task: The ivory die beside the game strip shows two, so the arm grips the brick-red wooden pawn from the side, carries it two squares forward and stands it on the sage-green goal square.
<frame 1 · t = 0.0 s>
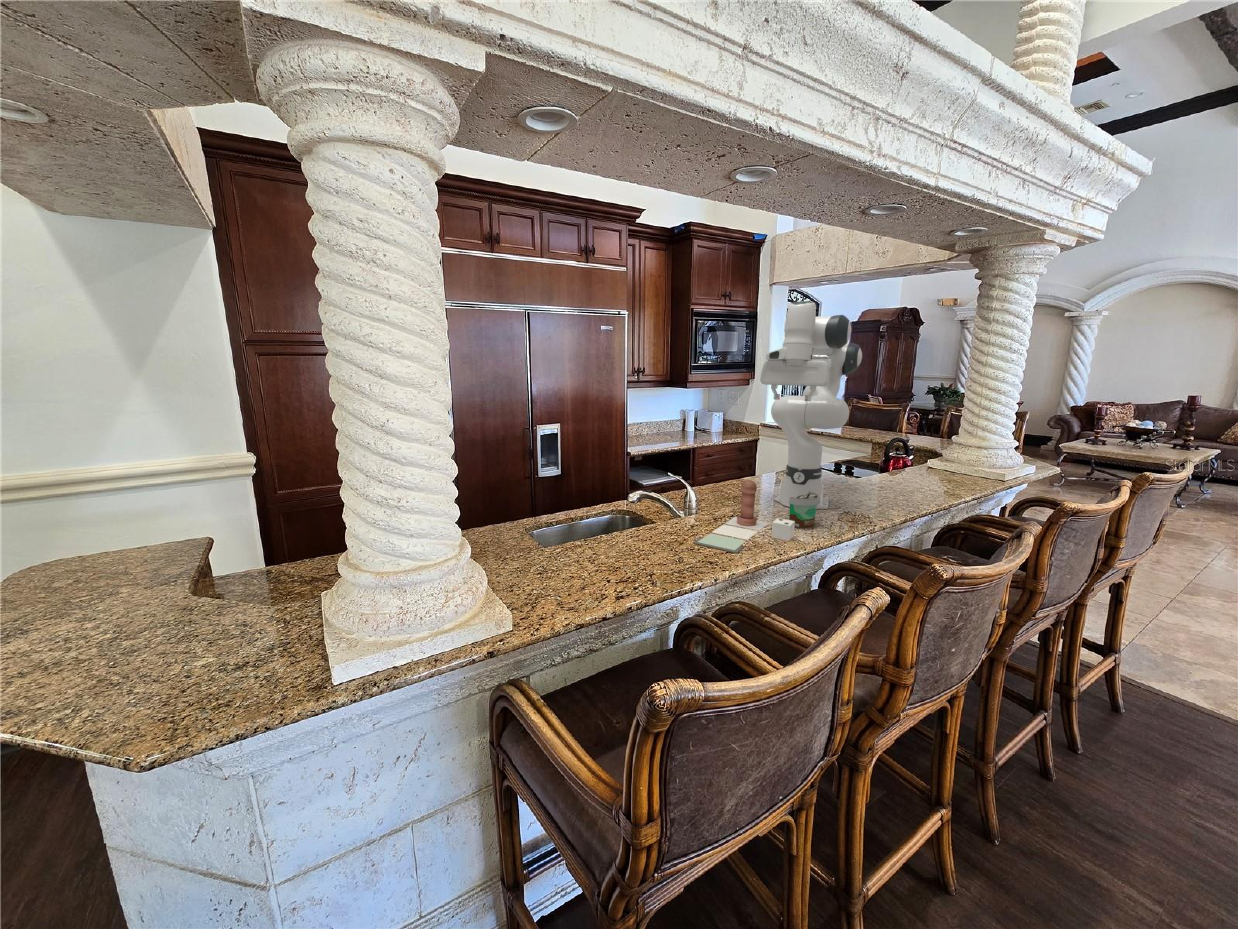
hand: (791, 400, 154), 39 cm above the countertop, tool pointing down, fingers open, 8 cm apart
food container: (805, 527, 156), on the countertop
die: (782, 538, 145), on the countertop
game board: (734, 533, 149), on the countertop
pawn: (746, 523, 157), resting on game board
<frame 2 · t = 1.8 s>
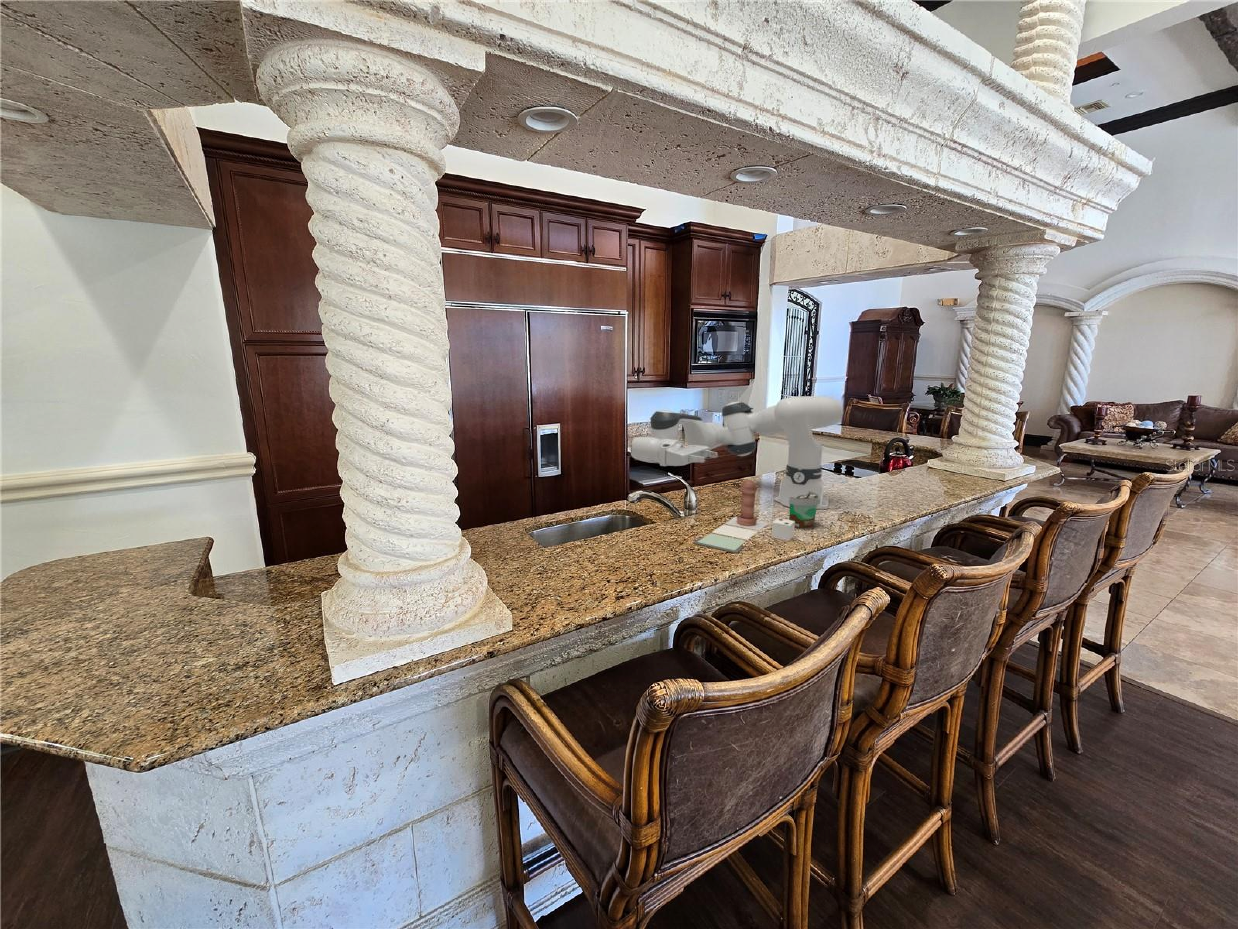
hand: (710, 457, 160), 20 cm above the countertop, tool horizontal, fingers open, 8 cm apart
nothing on the countertop moved.
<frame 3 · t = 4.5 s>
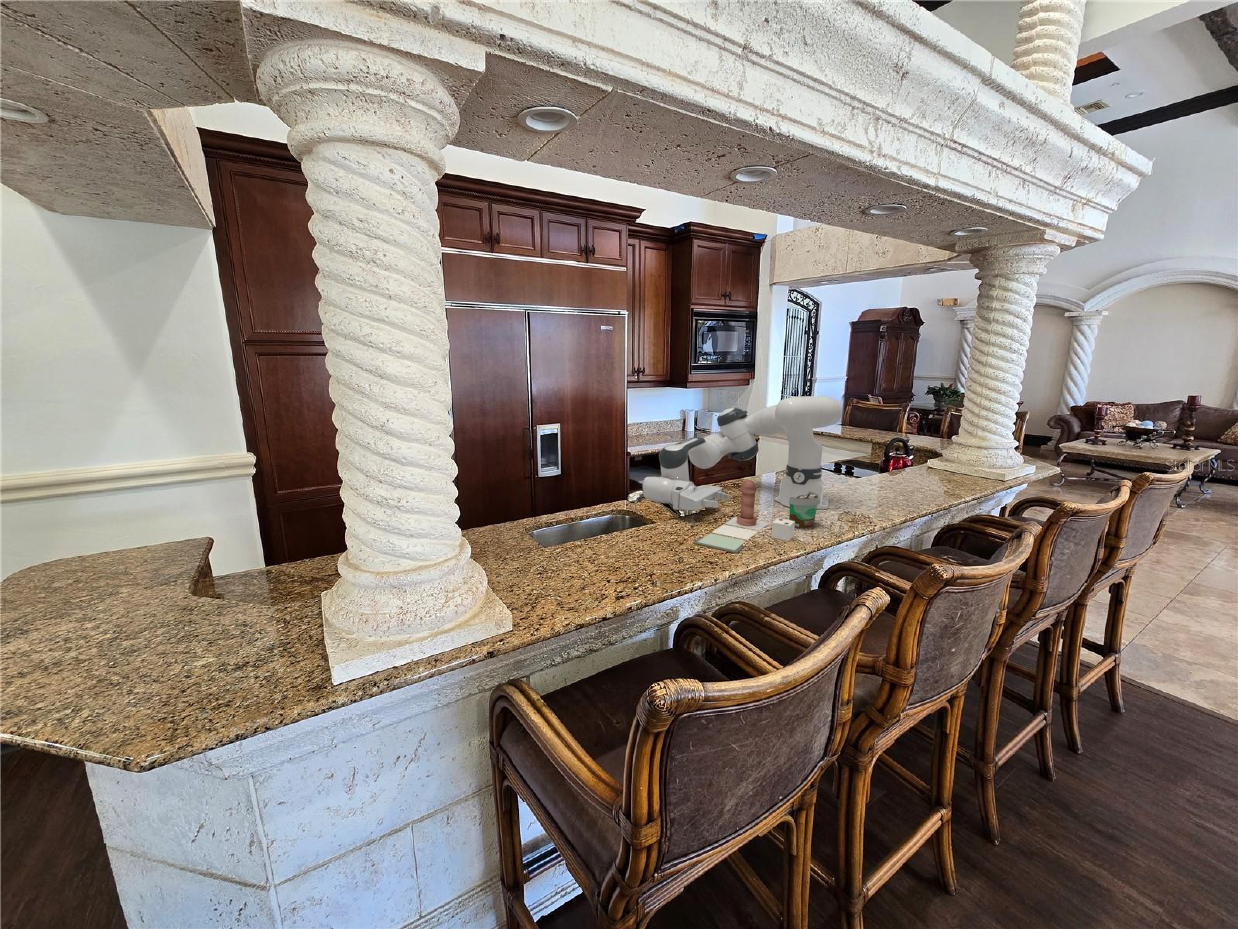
hand: (724, 501, 160), 6 cm above the countertop, tool horizontal, fingers open, 8 cm apart
nothing on the countertop moved.
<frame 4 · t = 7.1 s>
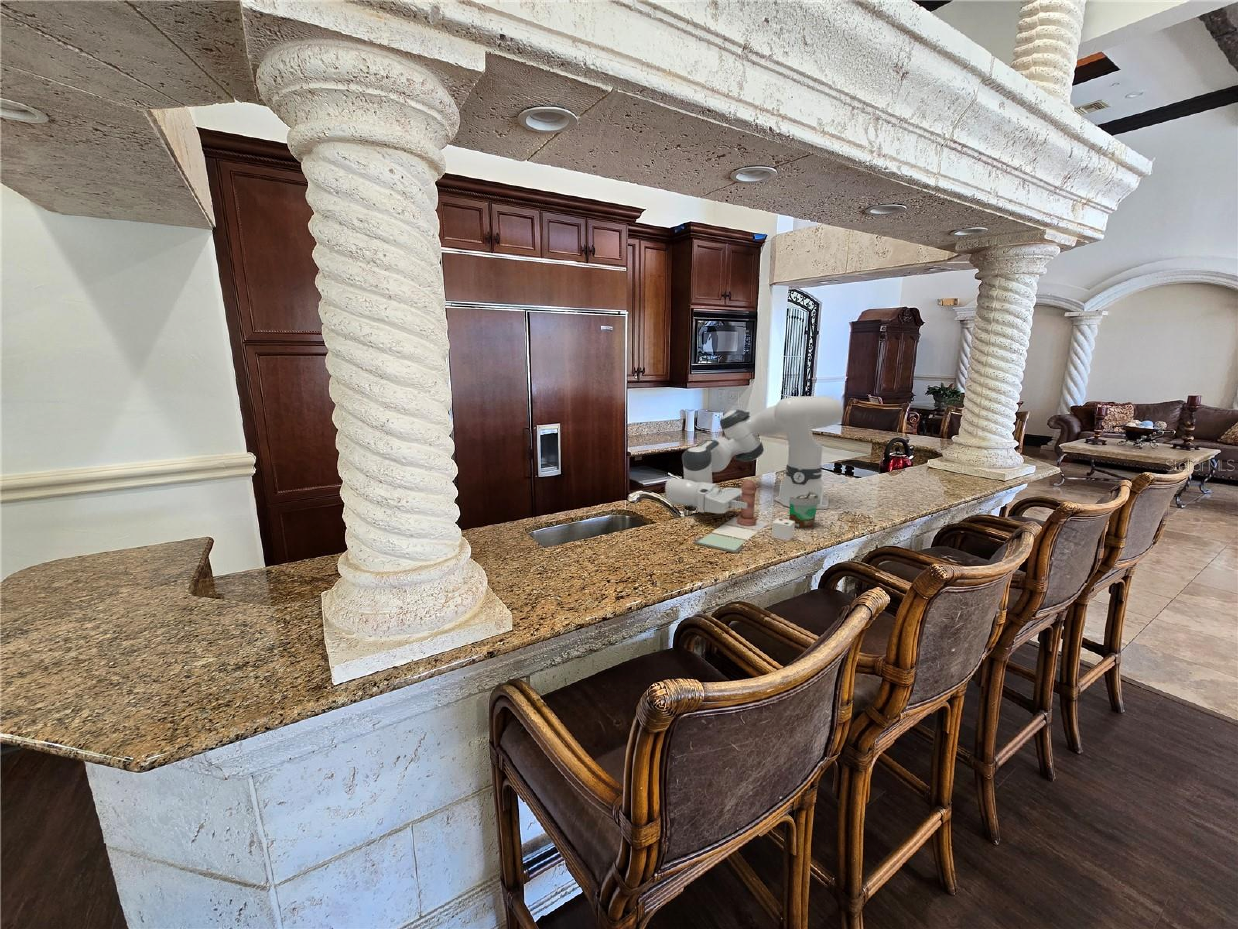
hand: (750, 503, 155), 7 cm above the countertop, tool horizontal, fingers closed on pawn, 4 cm apart
pawn: (746, 523, 157), resting on game board, touching gripper
everything else where it was.
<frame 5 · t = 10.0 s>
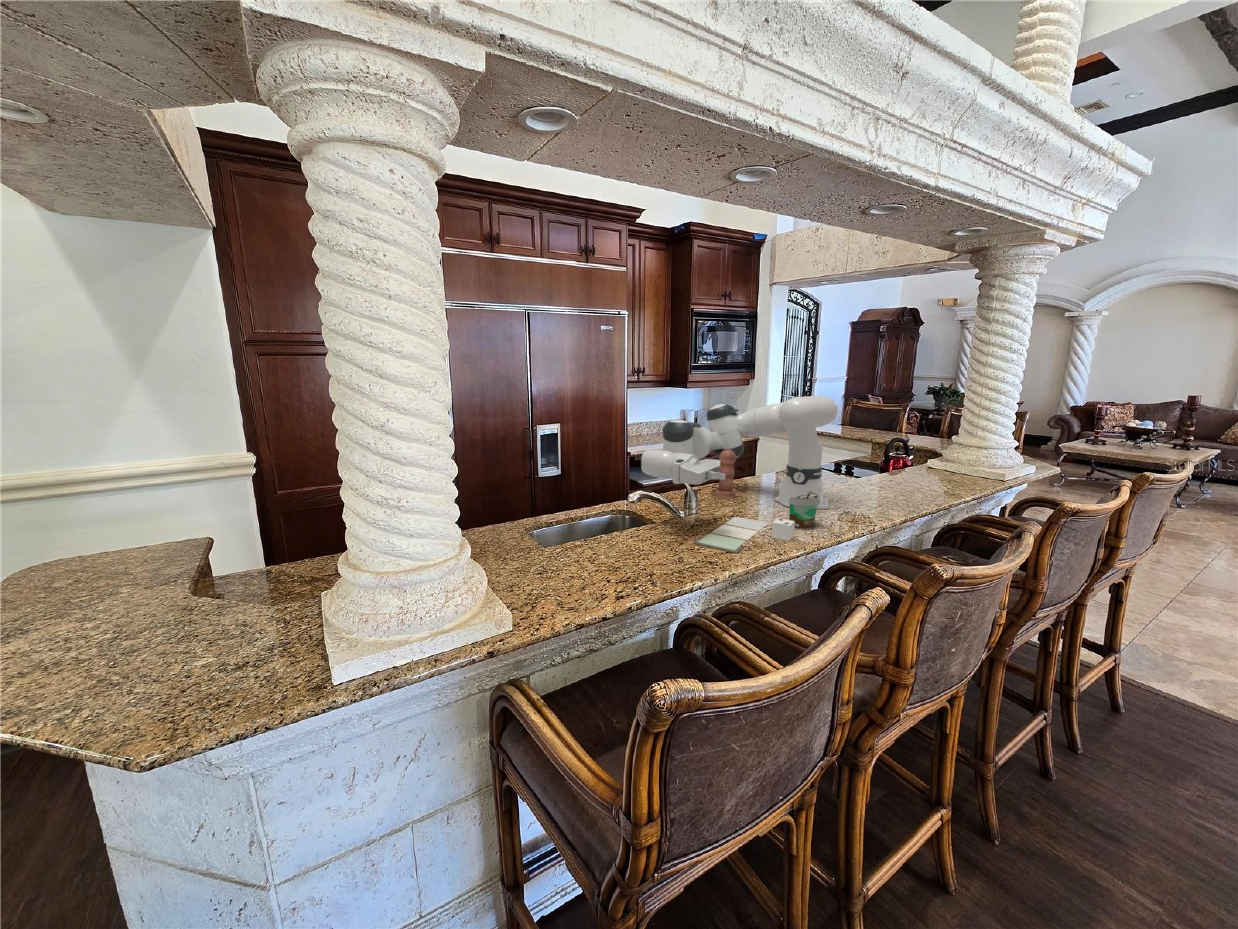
hand: (729, 474, 145), 18 cm above the countertop, tool horizontal, fingers closed on pawn, 4 cm apart
pawn: (725, 496, 147), point 11 cm above the countertop, touching gripper
everything else where it was.
when the fingers open (8 cm above the countertop, at t = 13.0 s): pawn drops 1 cm, resting on game board.
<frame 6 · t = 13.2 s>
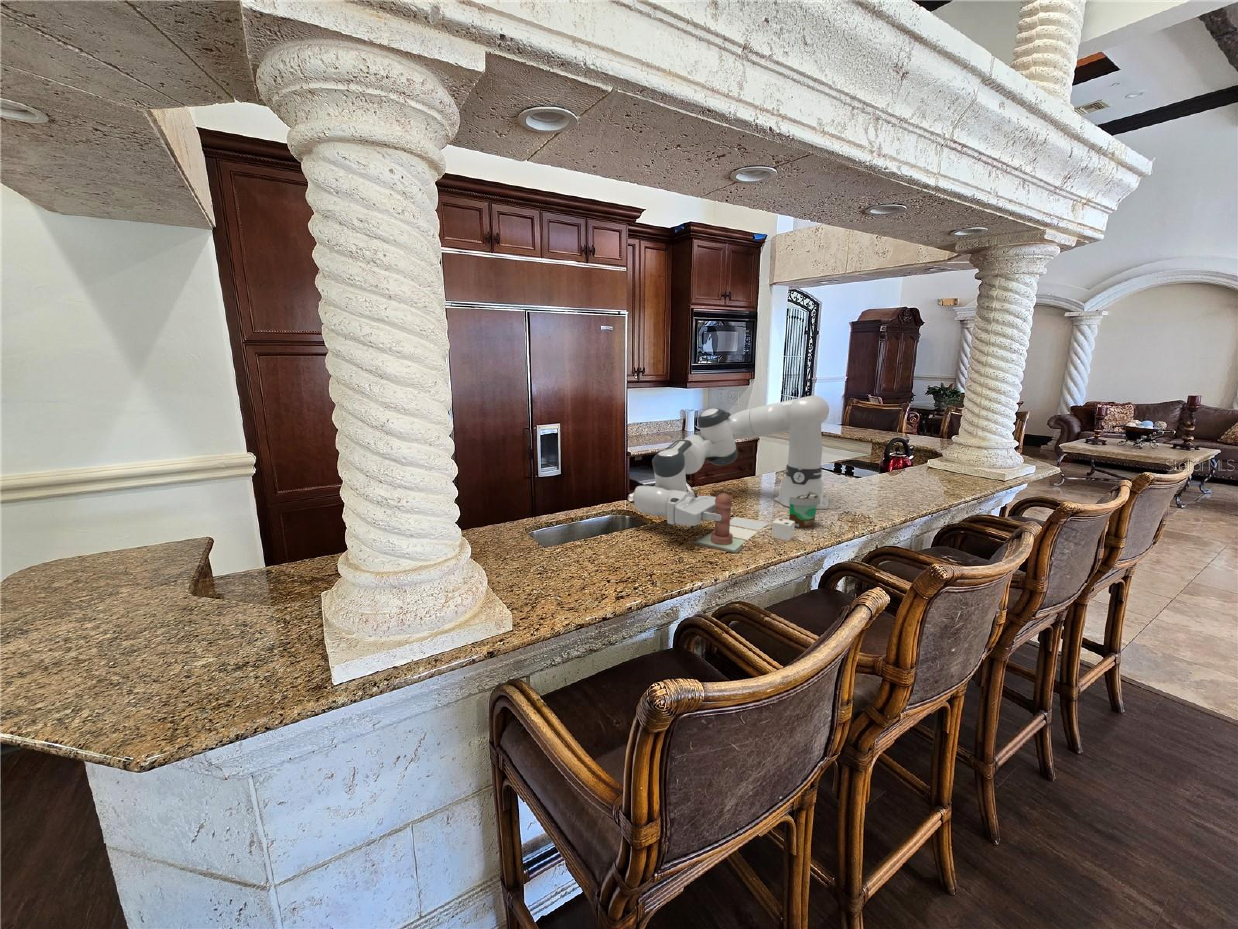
hand: (726, 514, 139), 8 cm above the countertop, tool horizontal, fingers open, 5 cm apart
pawn: (721, 541, 141), resting on game board
everything else where it was.
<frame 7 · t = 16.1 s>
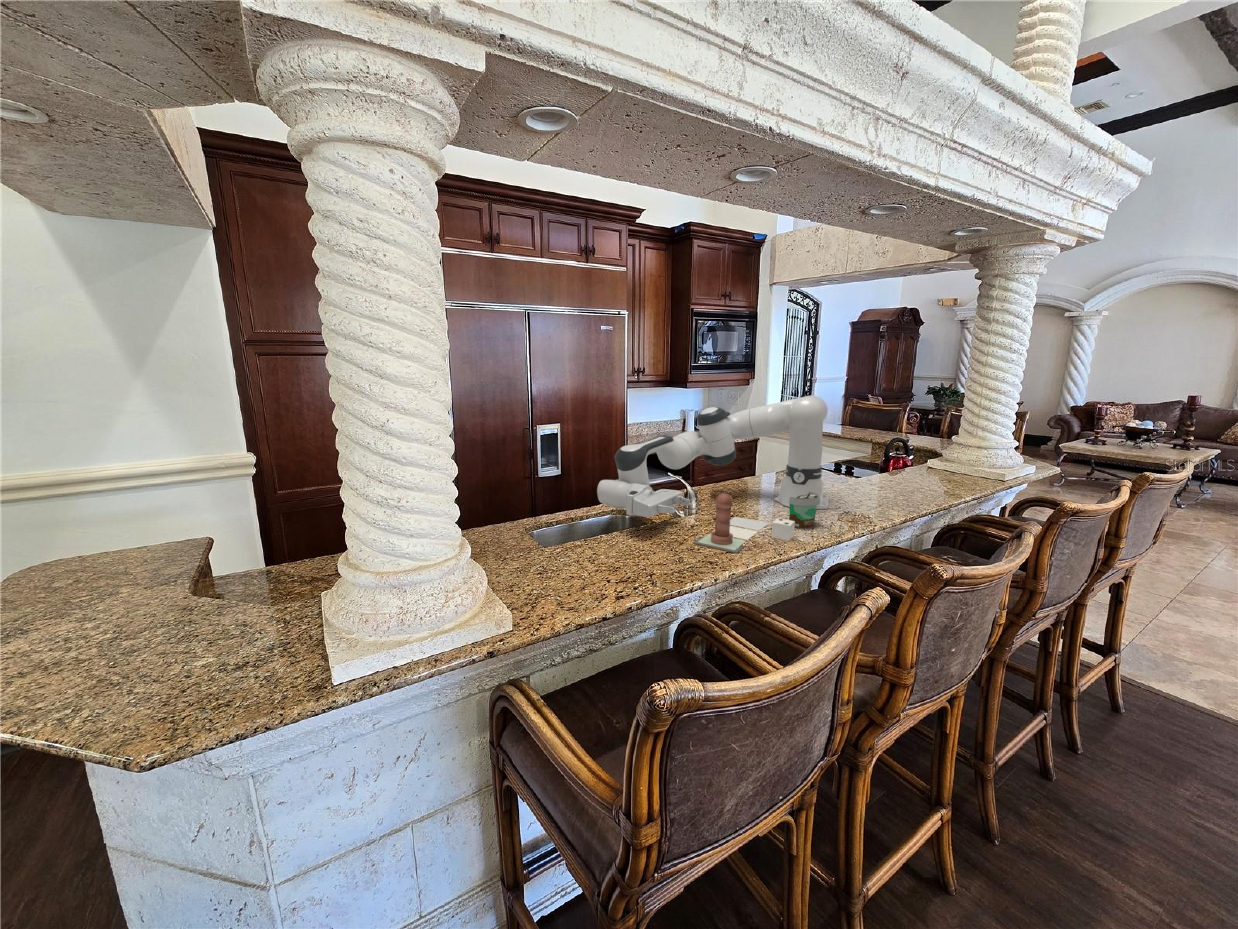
hand: (682, 506, 146), 8 cm above the countertop, tool horizontal, fingers open, 8 cm apart
nothing on the countertop moved.
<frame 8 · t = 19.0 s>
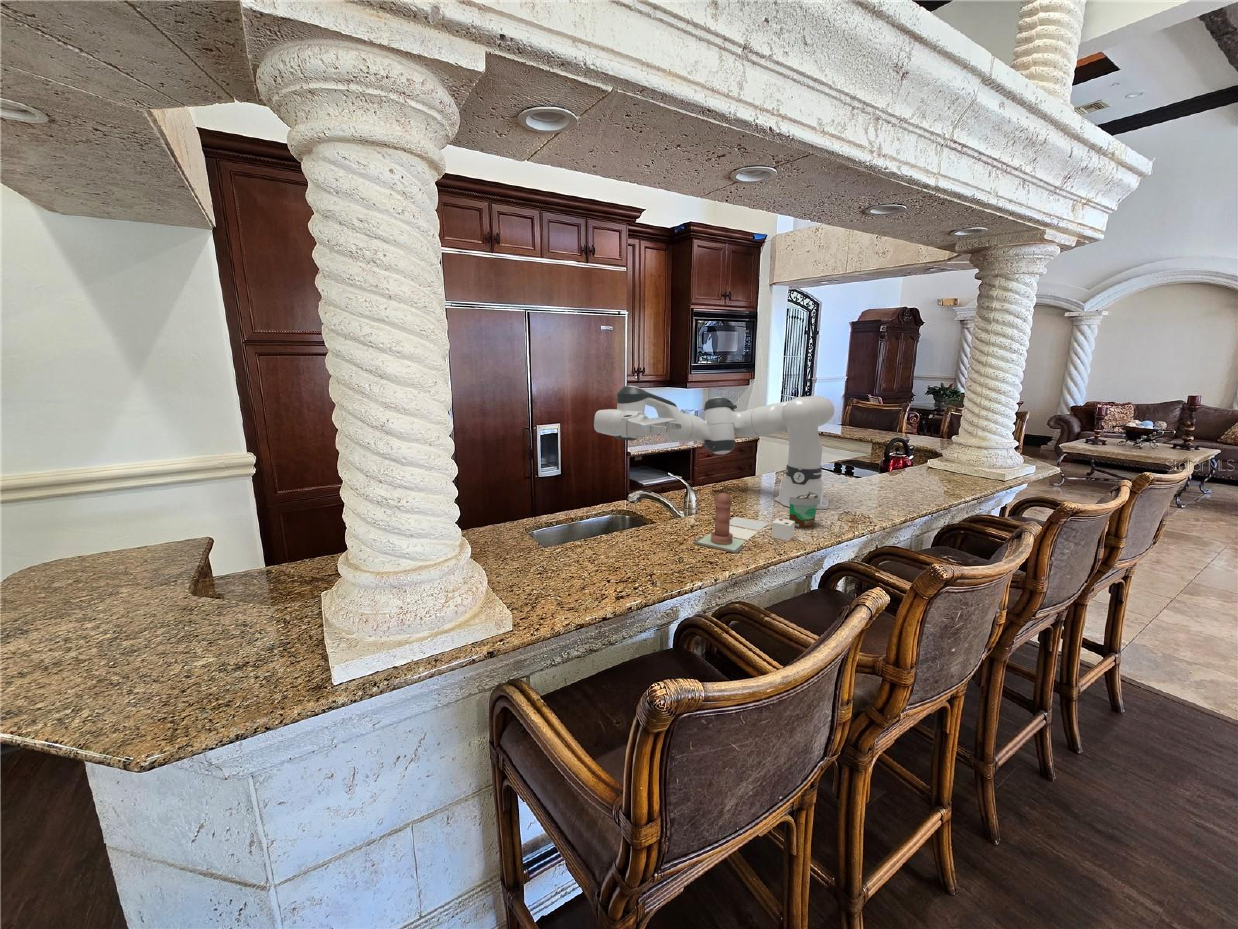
hand: (674, 428, 154), 30 cm above the countertop, tool horizontal, fingers open, 8 cm apart
nothing on the countertop moved.
at the end: pawn inside the target area on the game board (0.1 cm from its centre), point 0.5 cm above the game board's base; pawn tilted 1°; the gripper is holding nothing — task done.
